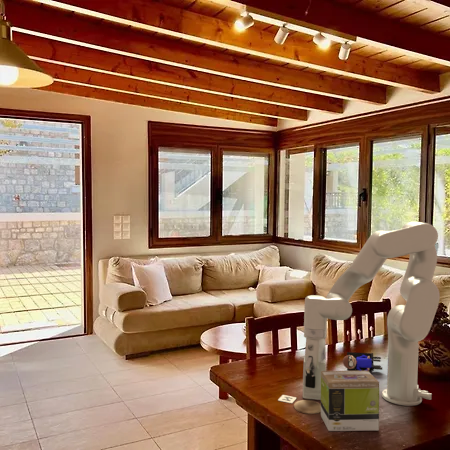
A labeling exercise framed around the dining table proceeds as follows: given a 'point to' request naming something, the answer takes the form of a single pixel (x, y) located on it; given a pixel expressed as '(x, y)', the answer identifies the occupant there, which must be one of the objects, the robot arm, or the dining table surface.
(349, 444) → the dining table surface
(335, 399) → the tea box
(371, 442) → the dining table surface
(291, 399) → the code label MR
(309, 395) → the supplement box
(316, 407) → the cork coaster
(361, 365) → the character figurine
